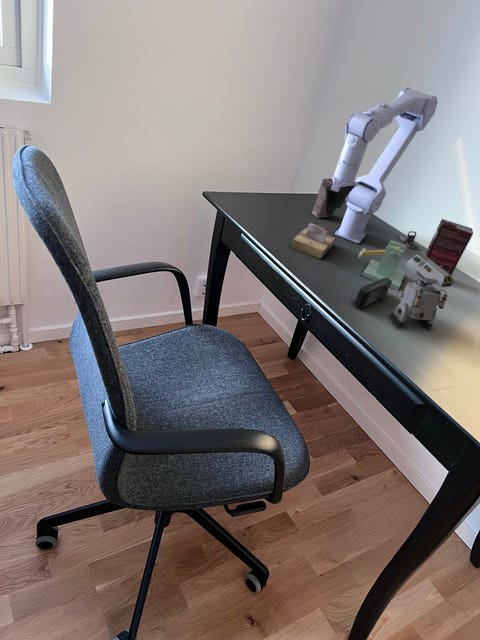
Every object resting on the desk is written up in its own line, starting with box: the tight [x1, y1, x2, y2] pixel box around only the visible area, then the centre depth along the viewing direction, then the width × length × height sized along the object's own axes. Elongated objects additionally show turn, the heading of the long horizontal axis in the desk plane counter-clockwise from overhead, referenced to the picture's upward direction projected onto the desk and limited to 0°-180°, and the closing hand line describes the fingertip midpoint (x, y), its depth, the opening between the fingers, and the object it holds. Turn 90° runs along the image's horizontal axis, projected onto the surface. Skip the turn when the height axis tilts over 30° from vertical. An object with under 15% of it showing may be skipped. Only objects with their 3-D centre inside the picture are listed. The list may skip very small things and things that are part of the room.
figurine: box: [387, 253, 455, 329], centre depth 107 cm, size 9×12×15 cm
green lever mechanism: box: [362, 239, 407, 291], centre depth 125 cm, size 10×10×9 cm
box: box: [311, 178, 333, 219], centre depth 153 cm, size 6×4×12 cm
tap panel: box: [290, 226, 336, 260], centre depth 133 cm, size 12×10×3 cm
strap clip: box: [398, 230, 419, 250], centre depth 152 cm, size 8×3×4 cm, turn 15°
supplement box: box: [424, 218, 474, 276], centre depth 131 cm, size 9×5×16 cm, turn 71°
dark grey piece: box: [353, 278, 392, 309], centre depth 114 cm, size 5×3×15 cm
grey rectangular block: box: [305, 222, 329, 243], centre depth 131 cm, size 6×2×4 cm, turn 64°
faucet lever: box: [357, 246, 401, 259], centre depth 126 cm, size 10×6×2 cm, turn 63°
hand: (332, 210), depth 131 cm, fingers open, 7 cm apart
